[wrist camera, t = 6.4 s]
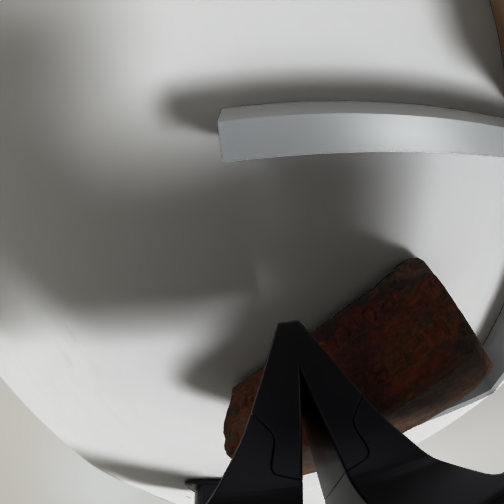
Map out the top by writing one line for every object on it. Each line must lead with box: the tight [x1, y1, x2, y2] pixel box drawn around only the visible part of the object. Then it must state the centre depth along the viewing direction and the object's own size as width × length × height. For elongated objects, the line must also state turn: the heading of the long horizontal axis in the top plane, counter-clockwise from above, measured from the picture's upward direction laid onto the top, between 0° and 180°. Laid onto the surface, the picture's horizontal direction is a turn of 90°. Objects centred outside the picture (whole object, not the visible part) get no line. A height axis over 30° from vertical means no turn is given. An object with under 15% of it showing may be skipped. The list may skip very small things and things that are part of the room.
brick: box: [223, 258, 494, 475], centre depth 11 cm, size 11×4×5 cm, turn 138°
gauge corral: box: [217, 101, 504, 421], centre depth 10 cm, size 16×15×3 cm
